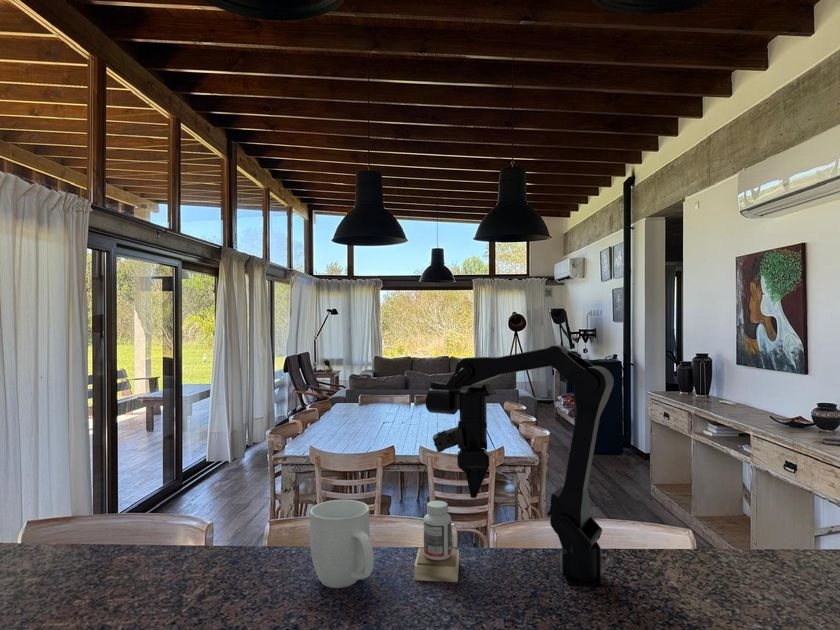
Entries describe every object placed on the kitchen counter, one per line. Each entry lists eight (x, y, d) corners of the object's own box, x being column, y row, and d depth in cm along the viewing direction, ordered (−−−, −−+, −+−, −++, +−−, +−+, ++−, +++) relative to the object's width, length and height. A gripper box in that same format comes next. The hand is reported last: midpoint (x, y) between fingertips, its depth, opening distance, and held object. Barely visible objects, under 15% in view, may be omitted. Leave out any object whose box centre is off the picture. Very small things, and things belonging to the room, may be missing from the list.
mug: (395, 587, 92) (395, 513, 92) (344, 610, 84) (345, 529, 85) (346, 561, 102) (346, 495, 103) (297, 579, 95) (298, 508, 95)
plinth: (458, 563, 102) (458, 547, 102) (457, 582, 94) (457, 565, 94) (418, 561, 102) (418, 546, 103) (414, 580, 95) (414, 563, 95)
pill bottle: (438, 547, 102) (438, 497, 102) (457, 556, 98) (457, 504, 98) (417, 554, 99) (417, 503, 99) (436, 564, 94) (436, 510, 95)
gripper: (438, 409, 119) (438, 477, 118) (431, 423, 100) (431, 504, 99) (486, 410, 118) (487, 479, 117) (489, 424, 99) (489, 505, 98)
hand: (473, 490), depth 108 cm, fingers open, 9 cm apart
